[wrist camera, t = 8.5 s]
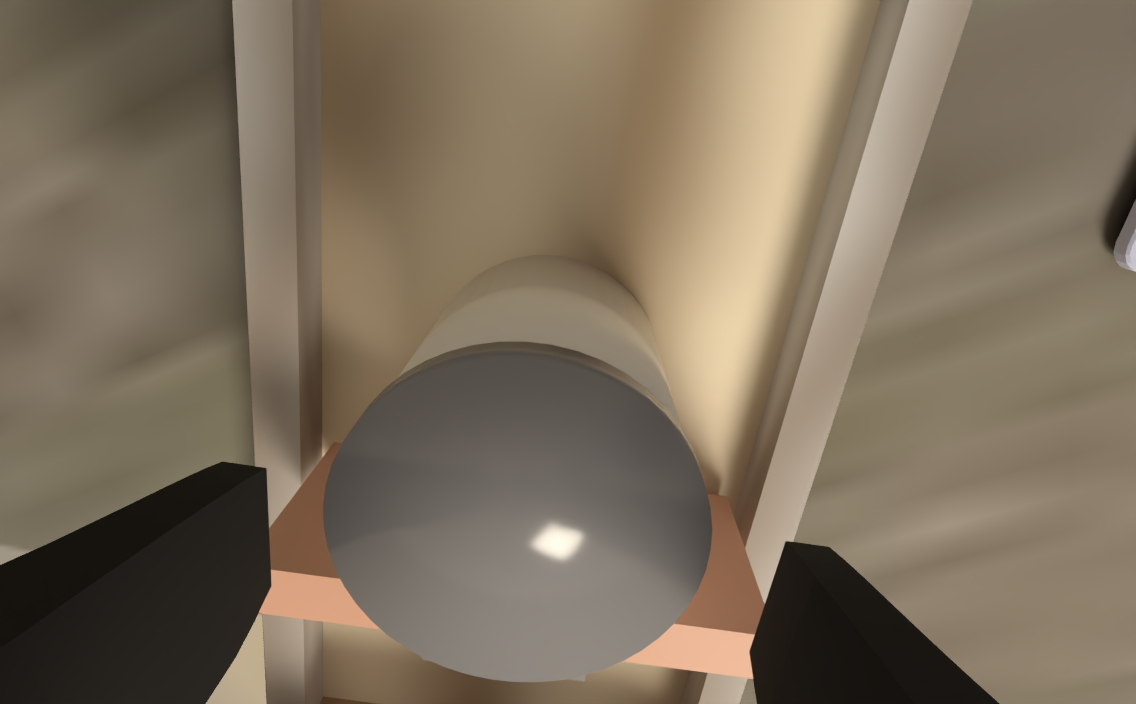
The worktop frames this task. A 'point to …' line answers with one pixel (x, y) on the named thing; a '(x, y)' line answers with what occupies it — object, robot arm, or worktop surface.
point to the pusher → (694, 642)
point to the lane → (573, 237)
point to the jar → (523, 483)
